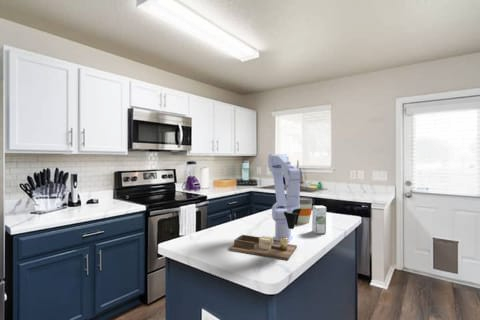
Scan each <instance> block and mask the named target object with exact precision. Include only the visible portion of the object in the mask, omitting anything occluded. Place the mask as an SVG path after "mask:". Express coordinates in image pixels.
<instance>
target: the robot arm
mask: <svg viewBox="0 0 480 320" xmlns="http://www.w3.org/2000/svg"><path fill="white" fill-rule="evenodd" d="M267 163H268V169H269V172H271V173H272V177H273V182H274V183H273V184H274V192H275V200H276V202H275V203H274V204H273V205H272V206H271V218H272V220H273V221H274V223H275V226H274V227H275V228H274V231H275V232H274V234H275V235H274V237H273V241H275V242H276V241H277V242H280V238H281V237H286V238H287V243H289V242H290V241H291V240H292V239H293V237H294V235H292V230H294V228H295V226H297V225H298V223H297V222H298V217H299V214H300V211H301V208H300V197H301V195H300V193H301V192H300V191H301V189H300V188H301V187H300V186H301V185H300V183H301V181H302V179H303V171H302V169H301V167H297V168H296V166H295V165H294V164H293V163H292V162H291V161H290V160H289V155H288V154H287V153H283V154H278V153H276V154H275V153H273V154H272V153H270V154H269V155H268V158H267ZM283 174H284V178H283ZM284 181H285V185H284ZM285 186H286V193H285Z"/></svg>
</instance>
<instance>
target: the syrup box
mask: <svg viewBox="0 0 480 320" xmlns="http://www.w3.org/2000/svg"><path fill="white" fill-rule="evenodd" d="M311 218H312V226H311V230H312V232H313V233H314V234H315V235H325V234H326V233H327V207H326V206H324V205H312V217H311Z"/></svg>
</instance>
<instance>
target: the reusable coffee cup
mask: <svg viewBox="0 0 480 320" xmlns="http://www.w3.org/2000/svg"><path fill="white" fill-rule="evenodd" d="M312 204H313V198H312V197H308V196H307V197H306V196H300V208H301V211H300V214H299V217H298V222H297V224H309V223H310V221H311V215H312V212H313V205H312Z"/></svg>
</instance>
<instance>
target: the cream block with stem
mask: <svg viewBox="0 0 480 320" xmlns="http://www.w3.org/2000/svg"><path fill="white" fill-rule="evenodd" d="M273 238H274V237H273V236H267V235H266V236H265V235H262V236H261V238H259V248H262V249H269V250H270V249H271V248H275V249H280V250H281V251H287V244H288V242H287V238H286V237H281V238H280V241H279V243H280V247H278V246H273V242H274V240H273Z"/></svg>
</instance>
